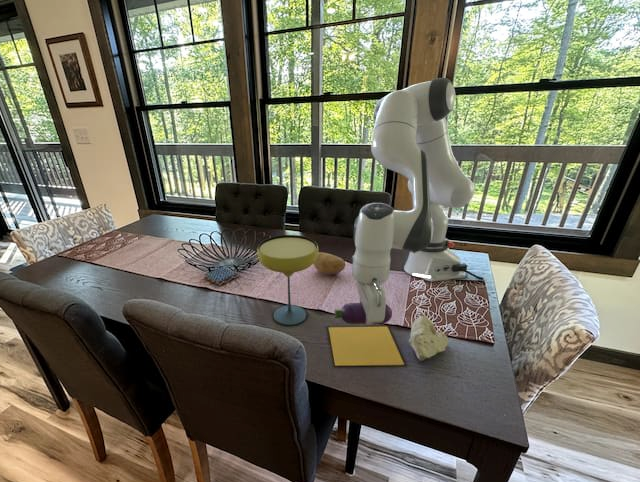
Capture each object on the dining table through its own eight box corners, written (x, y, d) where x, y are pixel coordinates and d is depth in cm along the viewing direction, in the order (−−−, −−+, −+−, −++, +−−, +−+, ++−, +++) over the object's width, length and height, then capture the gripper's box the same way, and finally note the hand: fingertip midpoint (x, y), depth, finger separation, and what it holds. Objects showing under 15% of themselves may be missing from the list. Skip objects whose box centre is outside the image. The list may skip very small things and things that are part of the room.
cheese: (422, 335, 94) (390, 314, 89) (445, 325, 90) (412, 303, 84) (435, 384, 84) (399, 364, 78) (461, 375, 79) (425, 354, 74)
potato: (338, 282, 121) (339, 264, 117) (307, 273, 129) (307, 255, 125) (349, 272, 128) (350, 254, 124) (319, 264, 135) (320, 247, 132)
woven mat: (219, 286, 122) (218, 282, 121) (203, 278, 128) (202, 274, 127) (239, 276, 128) (239, 272, 127) (223, 269, 135) (223, 265, 134)
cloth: (387, 326, 96) (387, 326, 96) (404, 365, 81) (404, 364, 81) (328, 327, 96) (328, 327, 96) (335, 366, 82) (335, 365, 82)
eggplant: (387, 315, 87) (389, 298, 85) (393, 327, 82) (396, 310, 80) (333, 316, 88) (334, 299, 85) (336, 328, 83) (337, 311, 80)
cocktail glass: (315, 334, 94) (316, 260, 82) (256, 330, 97) (249, 257, 85) (318, 301, 109) (320, 235, 98) (268, 298, 113) (264, 233, 101)
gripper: (395, 291, 68) (388, 340, 75) (373, 252, 87) (369, 295, 93) (366, 292, 69) (361, 340, 75) (350, 253, 87) (347, 295, 93)
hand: (365, 315), depth 84 cm, fingers closed on eggplant, 5 cm apart
